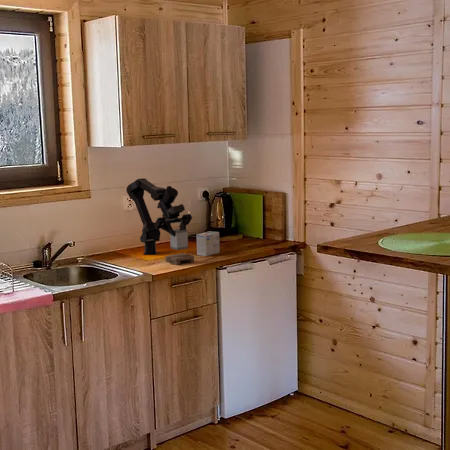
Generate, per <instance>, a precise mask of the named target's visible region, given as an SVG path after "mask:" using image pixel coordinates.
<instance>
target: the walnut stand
mask: <svg viewBox="0 0 450 450" xmlns="http://www.w3.org/2000/svg"><path fill="white" fill-rule="evenodd" d="M164 258H165V262H166V263H169V264H172V265H174V266H180V265H181V261H184V262H187V263H190V264H192V263H195V255H191V254H188V253H184V252H181V253H175V254H169V255H165V257H164Z"/></svg>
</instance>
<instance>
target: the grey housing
mask: <svg viewBox="0 0 450 450" xmlns="http://www.w3.org/2000/svg"><path fill="white" fill-rule="evenodd" d="M172 229H173V231H174V233H175V236H172V235H171V234H170V233H169V237H170V238H169V239H170V241H169V242H170V249H172V250H175V251H180V250H188V249H189V237H188V236H189V235H188V229H187V228H186V229H181V228H180V227H178V228H172Z"/></svg>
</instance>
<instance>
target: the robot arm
mask: <svg viewBox="0 0 450 450" xmlns="http://www.w3.org/2000/svg"><path fill="white" fill-rule="evenodd" d="M145 191H146V192H147V193H148V194H149V195H150V198H151V199H152V200H153V201H154V202H157V201H159V202H158V203H157V207H156V208H157V209H160V211H161V213H162V214H161V217H160V216H159V217H157V218H156V220H155V222H154V221H153V220H152V217H151V215H150V212H149V209H148V207H147V204H146V201H145V199H144V195H145ZM178 191H179V190H178V189H176V188H174V187H172V186H171V185H167V186H166V188H164V187H161V186H156V185H155V184H154V183H152V182H150V181H149V180H148V179H147V178H137V179H135V180H134V181H133V182H131V183H129V184H128V185H127V186H126V193H127V195H128V197H129V199H131V200H132V201H134V204H135V207H136V210H137V212H138V215H139V217H140V220H141V222H142V230H141V232H142V233H141V235H140V237H139V239H140V242H141V243H143V244H144V252H143V253H142V254H143V255H157V254H158V250H157V245H156V243H157V242H160V239H161V230H164V231H165V232H167V233H168V234H169V235H170V234H171V235H172V236H175V233H174V231H173V229H174V228H173V227H172V224H179V227H178V228H181V229H186V230H187V226H188V225H189V224H190V223H191V221H192V219H193V216H192V214H191V213H185V214H182V216H181V217H180V215H181V213H183V212H184V211H185V209H186V208H185V205H184V204H183V203H181V204H178V205H174V206H173V205H172V204H173V203H175V200H176V199H177V197H178V196H179V192H178Z"/></svg>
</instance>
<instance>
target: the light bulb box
mask: <svg viewBox="0 0 450 450" xmlns="http://www.w3.org/2000/svg"><path fill="white" fill-rule="evenodd" d="M220 250H221V249H220V231H211V230H209V231H206V232H202V233H196V255H197V256H203V257H208V256H212V255H216V254H220V252H221V251H220Z"/></svg>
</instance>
